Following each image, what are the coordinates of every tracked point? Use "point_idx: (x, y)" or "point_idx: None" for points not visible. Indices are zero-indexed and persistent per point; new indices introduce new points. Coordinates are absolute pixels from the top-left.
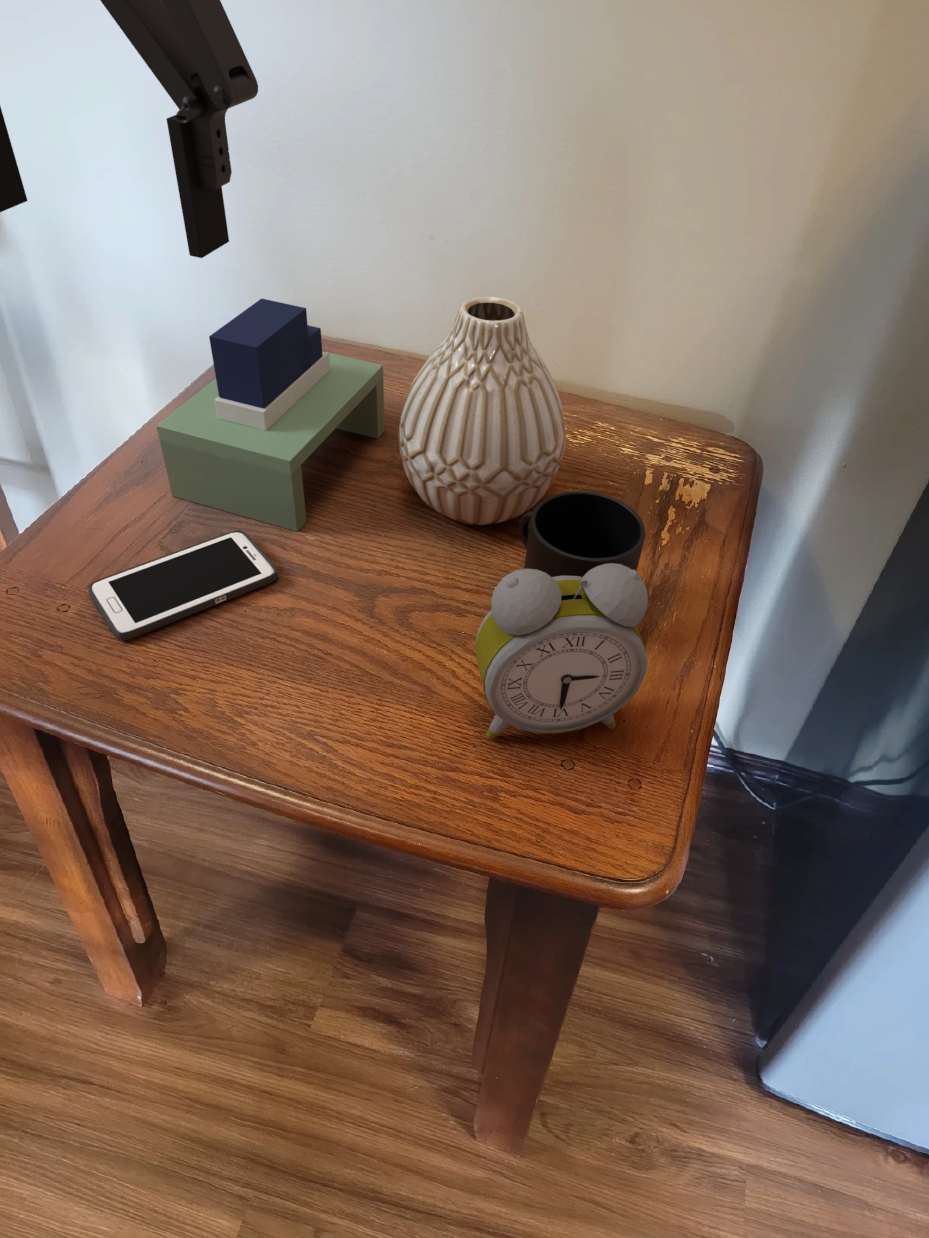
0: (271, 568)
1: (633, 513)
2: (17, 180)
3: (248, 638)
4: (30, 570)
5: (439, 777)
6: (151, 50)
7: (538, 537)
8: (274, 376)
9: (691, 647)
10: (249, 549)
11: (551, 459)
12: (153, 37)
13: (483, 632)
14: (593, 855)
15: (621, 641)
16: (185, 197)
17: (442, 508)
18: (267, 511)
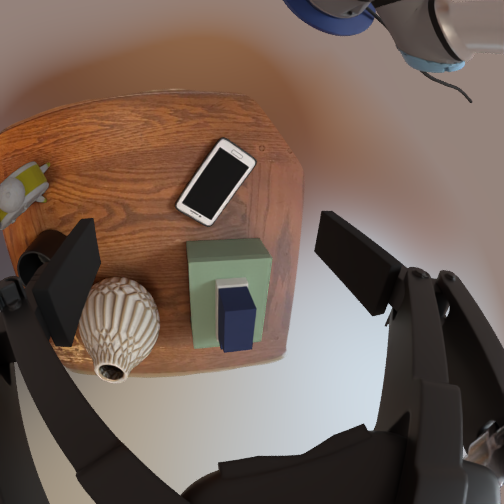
0: (179, 208)
1: None
2: (324, 256)
3: (167, 164)
4: (291, 165)
5: (58, 135)
6: (32, 354)
7: (47, 257)
8: (220, 307)
9: (14, 249)
10: (197, 216)
11: None
12: (21, 368)
13: (34, 184)
14: (7, 137)
15: None
16: (69, 243)
17: (120, 277)
18: (203, 243)
